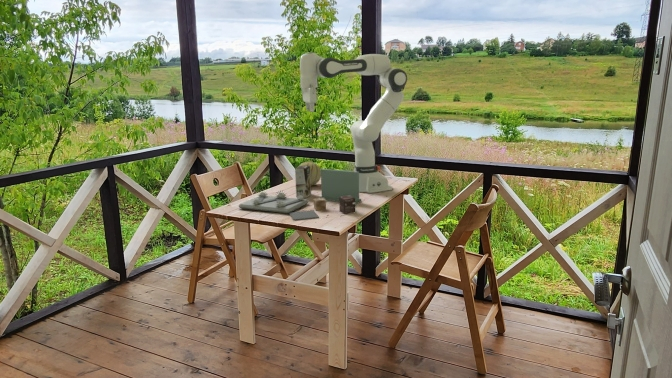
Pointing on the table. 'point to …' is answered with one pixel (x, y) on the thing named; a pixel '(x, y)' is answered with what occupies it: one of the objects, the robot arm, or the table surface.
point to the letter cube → (319, 204)
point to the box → (347, 204)
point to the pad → (303, 215)
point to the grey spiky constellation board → (274, 203)
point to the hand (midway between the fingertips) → (310, 111)
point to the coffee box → (303, 181)
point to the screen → (339, 184)
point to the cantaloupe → (313, 172)
